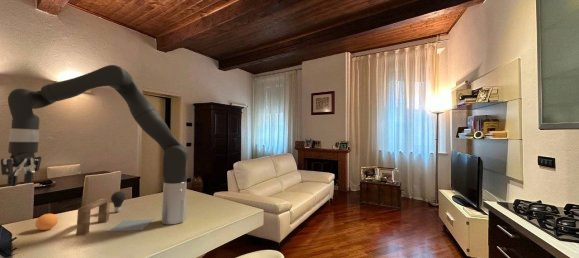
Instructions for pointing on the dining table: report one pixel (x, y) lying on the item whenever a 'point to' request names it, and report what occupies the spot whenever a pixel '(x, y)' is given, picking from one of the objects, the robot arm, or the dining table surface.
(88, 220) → the bridge
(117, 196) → the light bulb
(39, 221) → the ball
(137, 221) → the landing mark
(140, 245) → the dining table surface
